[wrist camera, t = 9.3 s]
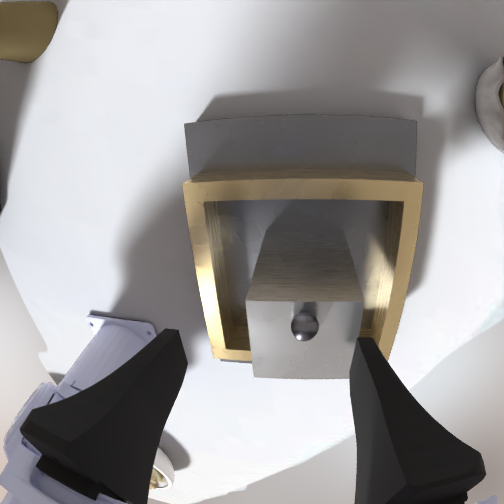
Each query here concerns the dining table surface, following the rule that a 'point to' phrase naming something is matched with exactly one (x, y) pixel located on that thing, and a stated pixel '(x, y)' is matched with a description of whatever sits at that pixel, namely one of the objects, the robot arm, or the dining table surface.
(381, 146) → the wooden cabinet body
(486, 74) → the cupcake
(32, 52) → the pepper shaker
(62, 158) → the dining table surface
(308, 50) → the dining table surface
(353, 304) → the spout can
